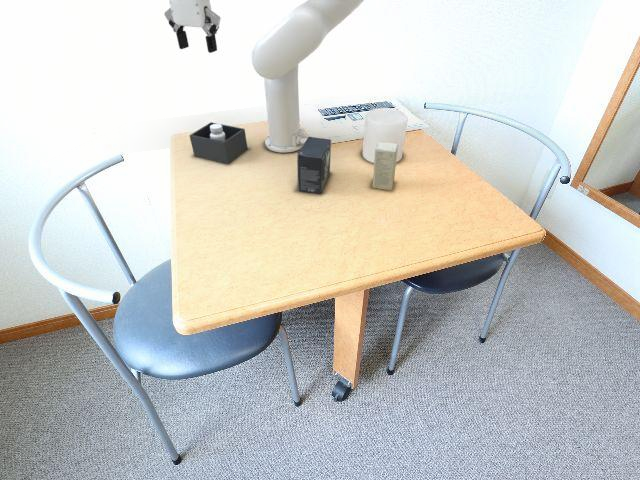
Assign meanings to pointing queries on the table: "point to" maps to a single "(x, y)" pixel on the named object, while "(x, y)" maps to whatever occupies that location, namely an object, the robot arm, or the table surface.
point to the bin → (219, 144)
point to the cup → (384, 130)
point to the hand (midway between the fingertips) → (198, 49)
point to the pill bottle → (217, 132)
